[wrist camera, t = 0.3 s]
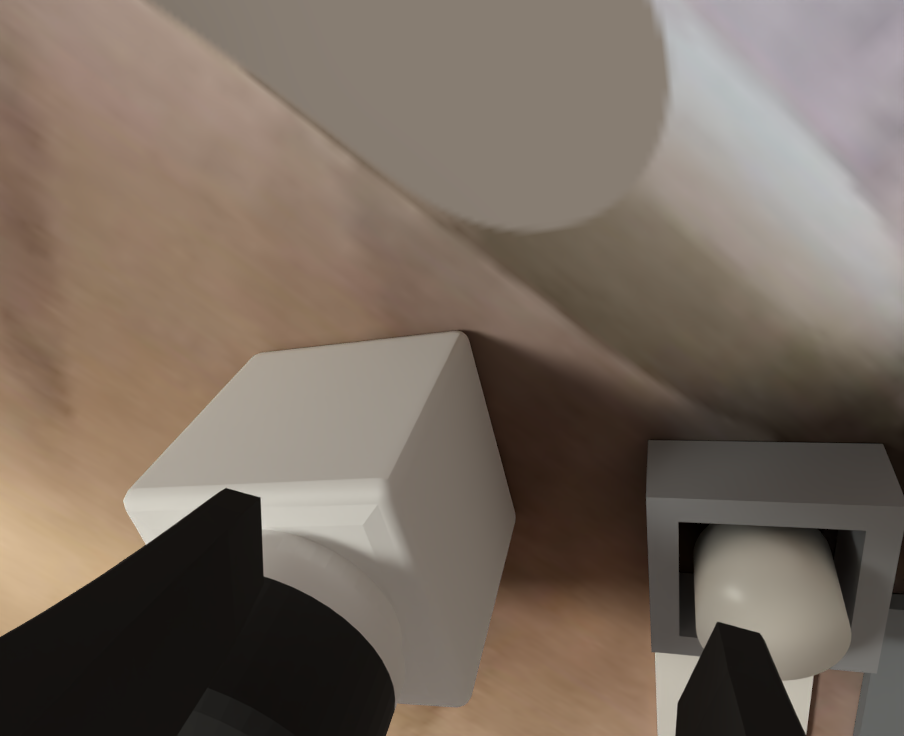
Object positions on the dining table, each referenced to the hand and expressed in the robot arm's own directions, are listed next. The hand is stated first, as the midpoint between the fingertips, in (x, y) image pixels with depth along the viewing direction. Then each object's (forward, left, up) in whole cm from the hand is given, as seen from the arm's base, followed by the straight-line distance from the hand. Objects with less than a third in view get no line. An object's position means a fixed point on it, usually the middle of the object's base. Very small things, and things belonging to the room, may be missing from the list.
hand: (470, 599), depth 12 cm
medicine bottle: (-4, +6, -10) cm, 12 cm away
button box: (-7, -5, -10) cm, 13 cm away
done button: (-7, -5, -9) cm, 12 cm away
